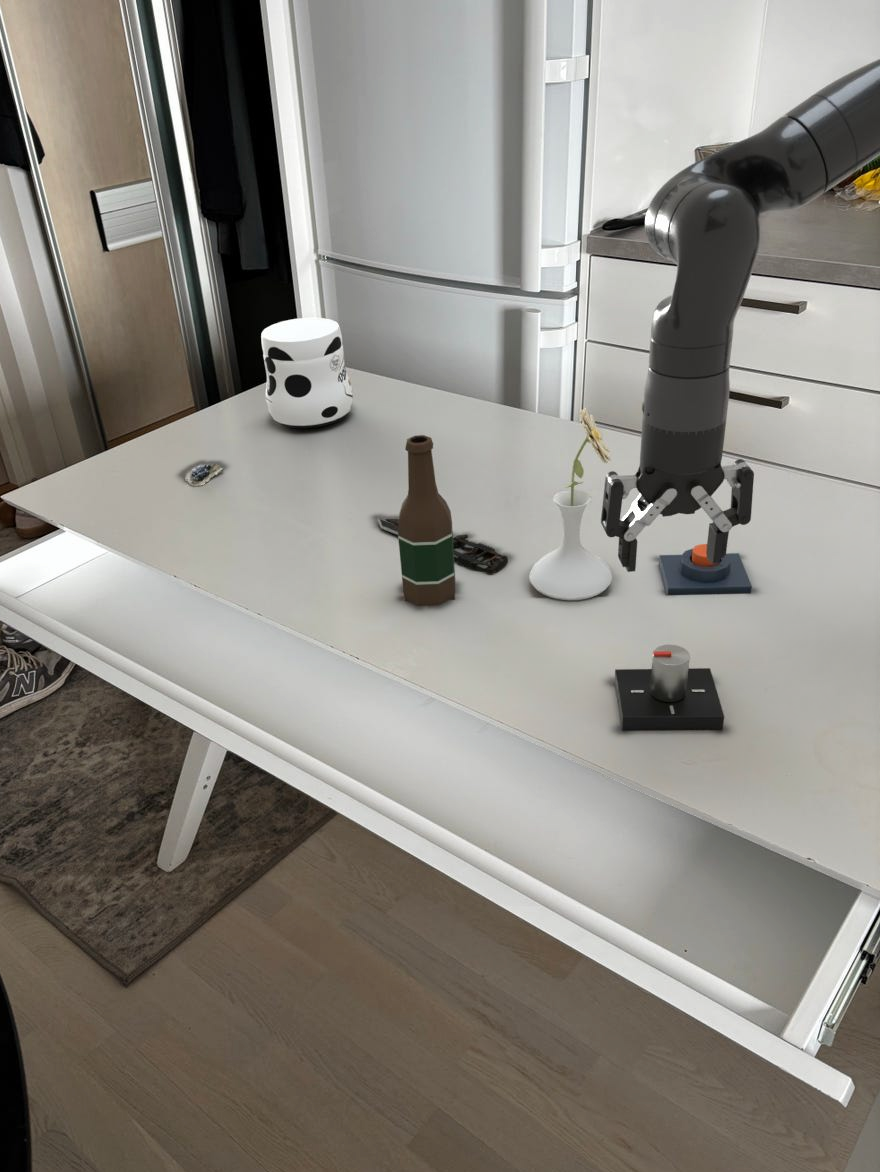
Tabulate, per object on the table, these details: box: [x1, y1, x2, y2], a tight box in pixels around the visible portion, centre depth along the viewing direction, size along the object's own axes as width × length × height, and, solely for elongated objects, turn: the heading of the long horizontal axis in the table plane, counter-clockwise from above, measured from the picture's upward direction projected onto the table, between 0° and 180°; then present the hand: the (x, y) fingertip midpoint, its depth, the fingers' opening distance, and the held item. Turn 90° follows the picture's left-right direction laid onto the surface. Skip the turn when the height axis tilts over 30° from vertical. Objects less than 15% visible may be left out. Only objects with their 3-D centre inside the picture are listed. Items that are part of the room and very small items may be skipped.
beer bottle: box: [397, 434, 456, 607], centre depth 132 cm, size 8×8×24 cm
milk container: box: [260, 317, 354, 429], centre depth 193 cm, size 17×17×18 cm
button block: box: [658, 548, 753, 596], centre depth 135 cm, size 11×9×4 cm
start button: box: [692, 543, 718, 567], centre depth 134 cm, size 4×4×2 cm
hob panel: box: [614, 667, 725, 732], centre depth 113 cm, size 11×9×3 cm
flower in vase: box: [529, 407, 613, 601], centre depth 131 cm, size 13×11×25 cm
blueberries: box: [184, 463, 224, 487], centre depth 178 cm, size 7×8×2 cm
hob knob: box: [650, 644, 691, 702], centre depth 111 cm, size 4×4×6 cm
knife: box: [377, 518, 509, 574], centre depth 151 cm, size 25×6×1 cm, turn 41°
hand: (671, 564), depth 100 cm, fingers open, 8 cm apart
